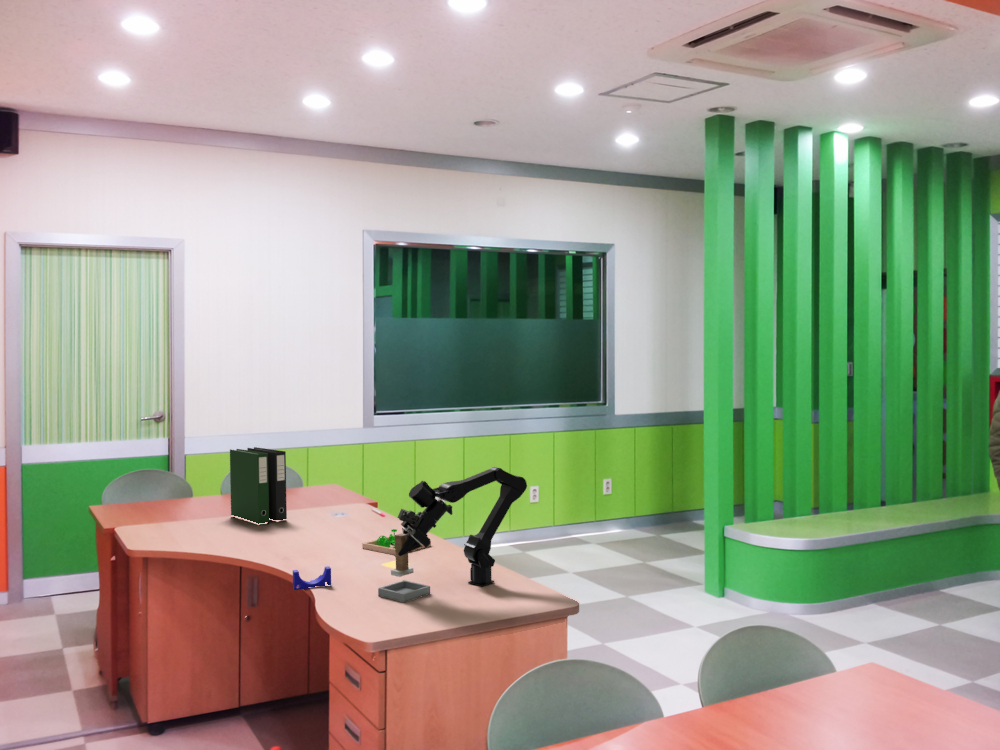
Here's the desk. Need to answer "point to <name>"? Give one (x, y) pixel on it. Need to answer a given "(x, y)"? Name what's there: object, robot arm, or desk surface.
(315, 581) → the cable clip
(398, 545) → the wooden post on base
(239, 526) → the desk surface
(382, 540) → the green leafy plants
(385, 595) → the tray
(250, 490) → the binder
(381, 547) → the shallow wooden tray
